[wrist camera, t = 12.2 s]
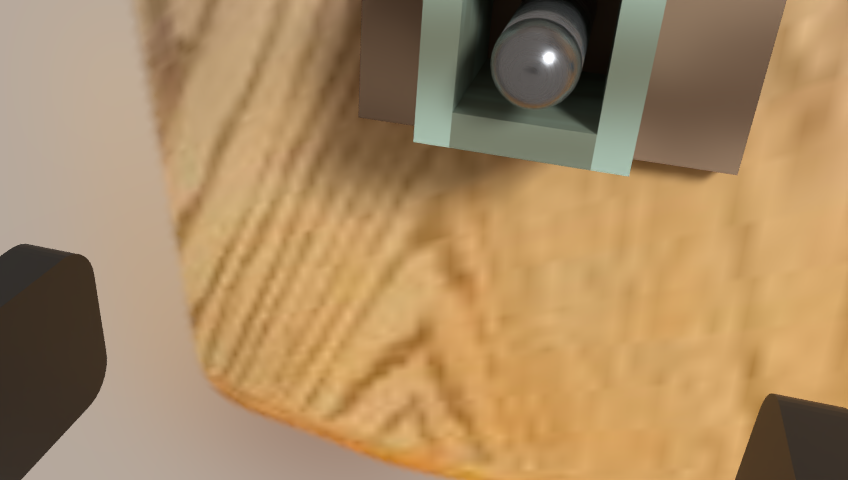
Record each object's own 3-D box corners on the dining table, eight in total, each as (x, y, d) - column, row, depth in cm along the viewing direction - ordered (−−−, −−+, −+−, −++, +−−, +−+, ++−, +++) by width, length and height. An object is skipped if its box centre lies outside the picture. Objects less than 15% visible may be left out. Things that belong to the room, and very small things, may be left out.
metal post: (529, -33, 27) (488, 23, 20) (602, -26, 26) (586, 35, 19) (520, 38, 28) (478, 115, 21) (590, 47, 28) (570, 128, 21)
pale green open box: (471, -106, 26) (429, -86, 21) (672, -86, 25) (679, -59, 20) (454, 83, 29) (413, 141, 24) (632, 109, 28) (629, 176, 23)
